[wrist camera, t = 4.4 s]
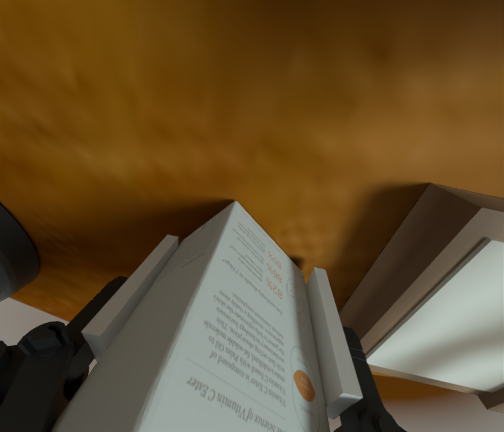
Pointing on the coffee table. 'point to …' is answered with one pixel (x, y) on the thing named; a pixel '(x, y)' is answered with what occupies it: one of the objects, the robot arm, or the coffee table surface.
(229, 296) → the small box
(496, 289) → the tray
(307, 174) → the coffee table surface
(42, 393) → the robot arm
